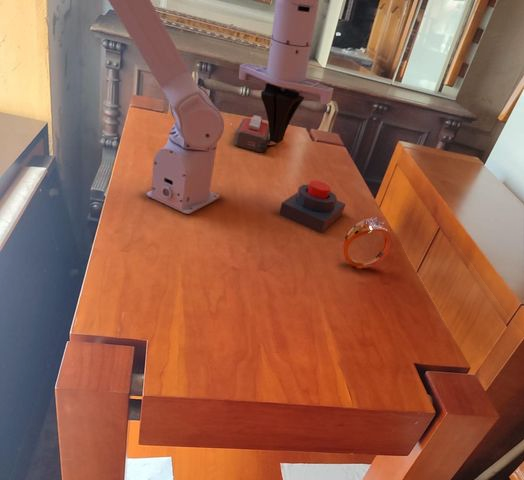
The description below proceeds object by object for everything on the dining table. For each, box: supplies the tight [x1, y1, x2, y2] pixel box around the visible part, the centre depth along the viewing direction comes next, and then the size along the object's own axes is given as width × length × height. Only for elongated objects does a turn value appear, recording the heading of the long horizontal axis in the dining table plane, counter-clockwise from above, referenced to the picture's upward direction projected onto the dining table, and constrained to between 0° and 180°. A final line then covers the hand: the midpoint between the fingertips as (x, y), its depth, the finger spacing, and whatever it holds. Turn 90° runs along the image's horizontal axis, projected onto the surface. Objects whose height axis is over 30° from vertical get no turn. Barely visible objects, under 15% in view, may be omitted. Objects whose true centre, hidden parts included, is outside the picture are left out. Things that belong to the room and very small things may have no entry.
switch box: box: [278, 184, 346, 234], centre depth 83 cm, size 10×8×4 cm
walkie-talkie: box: [233, 114, 277, 153], centre depth 107 cm, size 9×4×20 cm
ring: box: [342, 216, 392, 270], centre depth 71 cm, size 7×3×8 cm, turn 93°
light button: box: [307, 180, 331, 199], centre depth 81 cm, size 4×4×2 cm
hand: (276, 140), depth 77 cm, fingers closed
